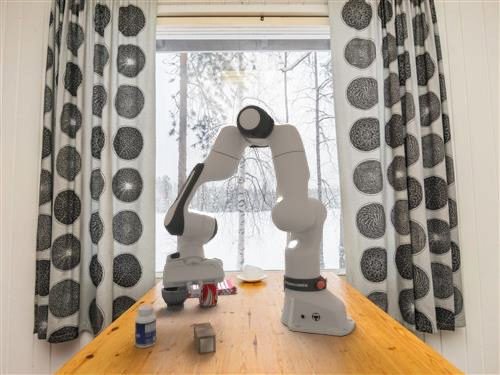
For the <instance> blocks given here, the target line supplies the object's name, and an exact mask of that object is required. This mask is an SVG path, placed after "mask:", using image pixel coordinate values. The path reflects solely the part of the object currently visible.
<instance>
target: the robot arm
mask: <svg viewBox="0 0 500 375" xmlns="http://www.w3.org/2000/svg"><path fill="white" fill-rule="evenodd" d="M235 122H236V124H226V125H225V124H224V125H223V126H222V127H221V128H220V129H219V131H218V133H217V135H216V137H215V139H214V141H213V144H212V145H211V148H210V150H209V153H208V154H207V157H205V159H204V160H203V161H201V162H198V163H196V164H195V166H193V168H192V170H191V171H190V173H189V175H188V176H187V178H186V180H185V182H184V184H183V186H182V187H181V189H180V191H179V192H178V195H176V198H175V200H174V202H173V203H172V204H171V206H170V207H169V209H168V210H167V212H166V214H165V216H164V219H163V227H164V228H165V230H166V232H168V234H169V235H171V236H174V237H175V236H176V237H177V246H178V251H176V252H172V253H170V254H167V255H166V258H165V264H164V267H163V272H162V286H163V288H164V287H165V288H168V287H179V286H187V289H188V290H189V291H190V292H191V297H190V298H197V297H196V296H201V289H202V287H203V284H212V283H222V282H223V280H225V277H226V275H225V270H224V268H223V266H224V263H223V260H222V259H221V258H219V257H205V251H204V245H207V244H208V243H209V242H211V241H212V240H214V238H215V237H216V235H217V234H218V230H219V229H218V228H219V224H218V221H217V218H216V217H215V215H214V214H211V213H208V212H204V211H202V210H196V209H193V208H189V206H190V204H191V202H192V200H193V199H194V198H195V195H196V193H197V192H198V190H199V188H200V187H202V185H204V184H206V183H211V182H223V181H225V180H229V179H230V178H232V177H233V176H235V174H236V172H238V169H239V166H240V163H241V161H242V157H243V155H244V152H245V150H246V149H247V148H248V147H249V148H250V149H255V148H256V149H257V148H258V149H261V148H262V149H265V148H269V149H270V153H271V159H272V164H273V169H274V174H275V180H276V181H275V182H276V194H275V197H276V198H275V204H274V206H273V207H272V210H271V220H272V223H273V225H274V226H275V227H276V228H277V229H278V230H279V231H281V232H285V233H289V239H288V243H287V245H286V246H285V248H284V275H283V292H284V298H283V307H282V313H281V316H280V321H281V323H282V324H283V325H285V326H287V327H288V329H289V330H290V331H293V332H300V333H301V332H303V333H312V334H319V335H320V334H322V335H328V336H338V337H343V336H345V335H348V334H350V333H351V332H353V330H354V329H355V326H356V323H355V319H354V318H353V317H351V316H348V314H347V308H346V304H345V303H344V302H343V300H342V299H340V298H339V297H338V296H337V295H335V294H334V293H333V292H332V291H330V290H329V289H328V288H327V282H328V277H326V278H325V277H323V276H322V275H321V260H320V259H321V258H320V257H321V244H322V239H323V238H322V237H323V231H324V226H325V225H324V224H325V222H326V220H327V218H328V210H327V207H326V205H325V204H324V203H323V202H322V201H321V200H319V199H318V198H316V197H311V196H309V182H310V178H311V171H310V168H309V164H308V158H307V154H306V150H305V146H304V142H303V139H302V135H300V132H299V130H298V128H297V126H296V125H295V124H292V123H290V122H289V123H288V122H285V123H280V124H279V123H275V119H274V118H273V117H272V116H271V115H270V114H269V113H268V112H267V111H266V110H265V109H264V108H262V107H260V106H259V105H254V104H250V105H246V106H244V107H242V109H241V110H239V112H238V113H237V116H236V121H235ZM191 285H198V287H199V288H198V289H193V288H192V287H191Z"/></svg>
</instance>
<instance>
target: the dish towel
mask: <svg viewBox="0 0 500 375" xmlns="http://www.w3.org/2000/svg"><path fill="white" fill-rule="evenodd" d="M191 287H192V288H193V289H198V288H199V287H198V285H191ZM237 291H238V287H236V286H235V285H233V283H232V281H231V279H224V280H223V282H222V283H218V296H223V295H224V296H225V295H234V294H236V293H237ZM190 298H192V297H191V292H190V291H189V295H188V298H187V299H190ZM195 298H199V296H196V297H195Z"/></svg>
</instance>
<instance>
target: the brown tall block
mask: <svg viewBox="0 0 500 375" xmlns="http://www.w3.org/2000/svg"><path fill="white" fill-rule="evenodd" d="M216 335H217V334H216V333H215V330H214V328H213V326H212V324H211V322H210V321H209V322H200V323H194V324H193V342H194V345H195V349H196V352H197V355H198V356H199V355H205V354H211V353H212V354H213V353H217V347H216V346H217V344H216V342H217V341H216V338H217V336H216Z"/></svg>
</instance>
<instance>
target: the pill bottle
mask: <svg viewBox="0 0 500 375" xmlns="http://www.w3.org/2000/svg"><path fill="white" fill-rule="evenodd" d="M137 314H138V315H137V316H136V317H135V319H134V321H135V322H134V326H135V327H134V329H135V330H134V333H135V334H134V335H135V336H134V339H135V340H134V343H135V347H137V348H141V349H146V348H150V347H152V346H154V345H156V343H157V315H156V314H155V313H154V306H153V305H152V304H151V305H150V304H148V305H147V304H145V305H141V306H139V307H138V308H137Z"/></svg>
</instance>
